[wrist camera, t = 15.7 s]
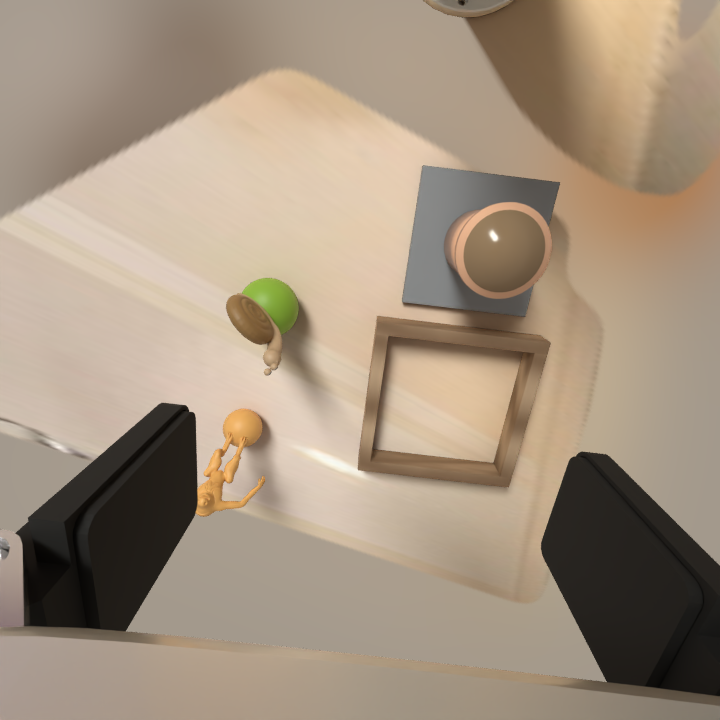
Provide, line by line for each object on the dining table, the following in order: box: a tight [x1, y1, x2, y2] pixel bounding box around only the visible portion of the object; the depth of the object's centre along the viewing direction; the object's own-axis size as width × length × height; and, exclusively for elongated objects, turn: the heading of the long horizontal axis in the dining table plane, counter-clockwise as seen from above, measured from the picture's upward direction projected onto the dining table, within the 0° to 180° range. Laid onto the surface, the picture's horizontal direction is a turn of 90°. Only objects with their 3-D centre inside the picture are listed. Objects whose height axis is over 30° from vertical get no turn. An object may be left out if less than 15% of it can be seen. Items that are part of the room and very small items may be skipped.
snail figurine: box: [226, 278, 299, 376], centre depth 34 cm, size 5×6×12 cm
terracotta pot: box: [444, 202, 552, 299], centre depth 32 cm, size 7×7×8 cm
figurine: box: [196, 409, 265, 517], centre depth 38 cm, size 8×6×12 cm
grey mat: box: [402, 165, 560, 317], centre depth 37 cm, size 12×12×1 cm
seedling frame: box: [358, 316, 551, 487], centre depth 41 cm, size 16×16×2 cm
